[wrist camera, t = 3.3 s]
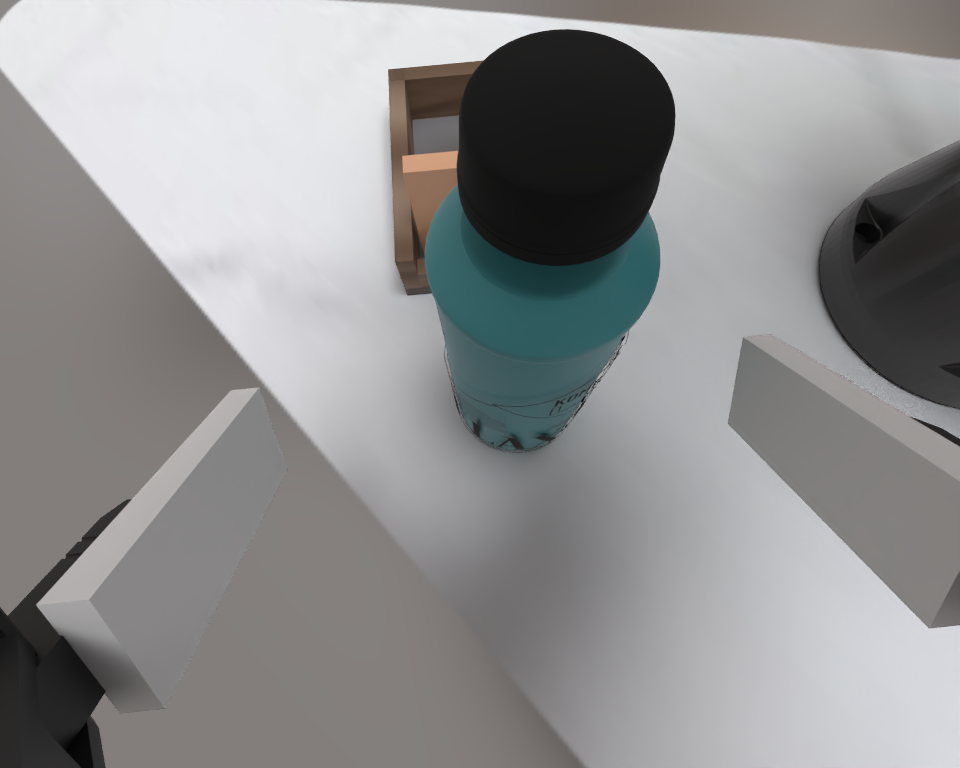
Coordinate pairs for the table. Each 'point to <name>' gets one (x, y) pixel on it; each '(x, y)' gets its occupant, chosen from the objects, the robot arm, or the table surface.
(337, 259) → the table surface
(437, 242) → the beverage bottle
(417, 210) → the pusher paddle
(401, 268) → the wooden tray
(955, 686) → the table surface
